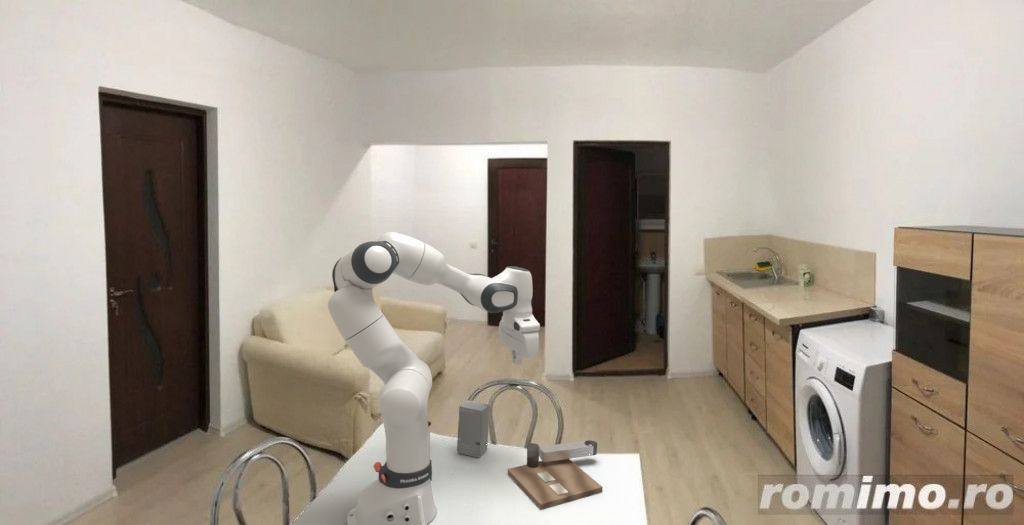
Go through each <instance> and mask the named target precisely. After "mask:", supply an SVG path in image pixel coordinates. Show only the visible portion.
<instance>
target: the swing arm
mask: <svg viewBox="0 0 1024 525" xmlns="http://www.w3.org/2000/svg"><path fill="white" fill-rule="evenodd" d="M589 454H590V455H589ZM596 455H598V442H597V441H595V440H588V439H587V440H581V441H574V442H567V443H566V442H565V443H557V444H551V445H550V444H549V445H542V446H541V445H540V446H539V459H541V460H540V461H543V462H549V461H556V460H564V459H570V460H571V459H577V458H586V457H592V456H596Z"/></svg>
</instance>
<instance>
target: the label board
mask: <svg viewBox="0 0 1024 525" xmlns="http://www.w3.org/2000/svg"><path fill="white" fill-rule="evenodd" d="M526 446H527V447H526V464H523V465H519V466H514V467H511V468H510V467H509V468H507V475H508V476H509V477H510V478H511V480H513V481H514V482H515V484H516V485H518V487H519V488H520V489H521V490H522V491H523V492H524V493H525V494H526V495H527V497H528V498H529V499H530V500H531V501H532V502H533V503H534V504H535V506H537V508H539V510H540V511H541V510H544V509H547V508H551V507H555V506H558V505H562V504H565V503H568V502H572V501H576V500H579V499H583V498H585V497H589V496H593V495H595V494H596V495H597V494H600V493H603V486H602V485H601V484H600V483H598V481H597V480H595V479H593V478H592V477H591V476H590V475H589V474H588V473H587V472H585V471H584V470H583V469H582V468H581V467H580V466H578V465H577V464H576V463H575V462H574V461H573V460H571V459H564V460H556V461H549V462H543V461H542V460H540V457H539V447H540V445H539V444H538V443H529V444H526Z"/></svg>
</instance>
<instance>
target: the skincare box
mask: <svg viewBox="0 0 1024 525" xmlns="http://www.w3.org/2000/svg"><path fill="white" fill-rule="evenodd" d="M490 410H491V405H490V404H487V403H483V402H481V401H475V400H471V399H470V400H469V399H466V401H464V402H463V403H462V404H460V405H459V411H458V424H457V425H458V427H457V429H458V430H457V441H456V442H457V443H456V453H457V454H459V455H463V456H464V455H466V456H470V457H473V458H478V459H480V458H481V457H482V456H483V455H484V454H485V453H486V451H487V450H488V443H489V442H488V439H489V424H490ZM486 444H487V445H486Z"/></svg>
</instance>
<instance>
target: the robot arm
mask: <svg viewBox="0 0 1024 525" xmlns="http://www.w3.org/2000/svg"><path fill="white" fill-rule="evenodd" d="M392 274H393V275H394V274H395V275H397V276H399V277H401V278H403V279H406V280H407V281H410V282H413V283H416V284H418V285H419V284H420V285H425V286H433V285H434V284H439V285H442V286H444V287H446V288H448V289H451V290H453V291H455V292H457V293H458V294H460V295H461V296H462V298H463V300H465V301H466V303H468V304H470V305H471V306H475V307H477V308H479V309H481V310H483V311H485V312H488V313H491V314H498V313H502V316H501V320H500V321H499V324H498V332H497V333H498V335H497V336H498V341H499V342H500V343H501V344H503V345H505V346H506V347H508V348H509V351H510V355H511V363H513V364H515V365H516V366H521V364H522V363H523V362H522V359H523V357H524V358H526V359H532V358H536V357H537V356H538V354H539V350H540V347H539V346H540V345H539V343H540V341H539V340H540V336H539V332H538V331H540V329H541V324H540V322H538V320H537V319H536V318H535V316H534V314H533V306H532V300H533V296H534V295H533V291H534V289H533V276H532V274H531V271H530V270H528V269H526V268H523V267H520V266H519V267H518V266H512V265H511V266H506V267H505V269H504V270H502V271H501V272H500V273H499V274H497V275H495V276H493V277H489V276H487V275H485V274H483V273H467V272H465V271H463V270H461V269H458V268H456V267H454V266H452V265H450V264H449V263H447V262H446V258H445V256H444V254H443V253H442V252H440V251H439V250H438V249H436V248H435V247H433V246H432V245H431V244H428V243H426V242H424V241H422V240H419V239H418V238H415V237H412V236H410V235H407V234H403V233H400V232H396V231H387V232H385V233H384V234H382V235H381V236H379V237H378V239H377V241H376V240H374V241H366V242H363V243H361V244H359V245H357V247H355V248H353V249H350V250H349V251H347V252H345V254H343V256H342V257H340V258H339V259H338V260H336V263H335V264H334V266H333V268H332V273H331V279H332V283H333V288H334V290H333V291H334V293H332V295H331V296H330V298H329V300H328V303H327V309H328V312H329V314H330V316H331V319H332V321H333V323H334V325H335V326H336V328H337V330H338V332H339V333H340V335H341V337H342V338H343V340H345V343H346V344H347V345H348V347H349V348H350V350H351V351H352V352H353V354H354V356H355V357H356V358H357V360H358V361H359V362H360V364H361V365H362V367H364V368H365V369H369V370H370V371H371V372H373V373H374V374H375V375H376V376H377V377H378V378H379V379H380V380H381V381H382V382H383V384H384V387H382V388H383V389H382V390H381V392H380V397H379V412H380V415H381V418H382V423H383V428H384V433H385V462H384V464H383V465H382V463H381V462H380V461H377V462H375V463H374V464H373V470H374V471H375V472H376V473H377V474H378V476H377V477H378V478H377V479H375V480H374V481H373V482H372V483H371V484H369V485H368V486H367V487H366V488H365V489H363V490H362V491H361V492H360V493H359V495H358V498H357V501H356V506H355V507H352V508H351V509H350V510H349V511H348V514H347V516H346V525H429V523H431V522H432V521H433V520H434V519H435V517H436V515H437V511H438V509H437V506H436V504H435V499H434V494H433V489H432V480H433V479H432V478H433V464H432V463H433V462H432V459H431V431H430V428H429V427H430V426H429V427H428V421H429V420H428V402H429V401H428V400H429V396H430V392H431V389H432V387H433V376H432V372H431V369H430V367H429V365H428V364H427V363H426V362H425V361H423V360H421V359H420V358H419V357H418V356H417V355H416V354H415V353H414V352H413V351H412V350H411V349H410V348H409V347H408V346H407V345H406V343H405V342H404V341H403V340H402V339H401V337H400V336H399V335H398V333H397V332H396V331H395V329H394V328H393V326H392V325H391V324H390V322H389V320H388V319H387V318H386V316H385V315H384V313H383V312H382V310H381V309H380V307H378V305H377V304H376V303H377V302H376V301H375V298H374V295H373V289H375V288H376V287H378V286H379V285H380V284H382V283H384V282H386V281H387V280H388V279H389V278H390V276H391V275H392Z"/></svg>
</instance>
